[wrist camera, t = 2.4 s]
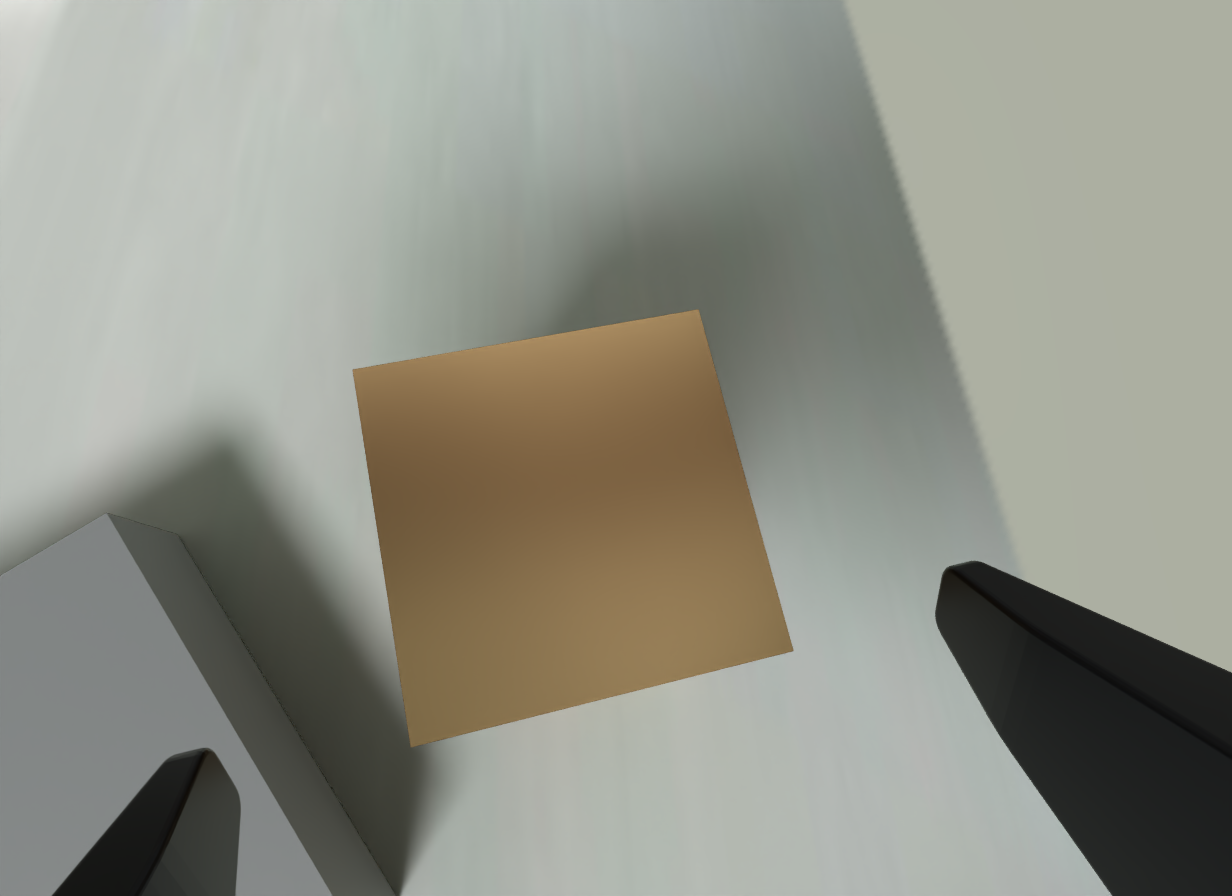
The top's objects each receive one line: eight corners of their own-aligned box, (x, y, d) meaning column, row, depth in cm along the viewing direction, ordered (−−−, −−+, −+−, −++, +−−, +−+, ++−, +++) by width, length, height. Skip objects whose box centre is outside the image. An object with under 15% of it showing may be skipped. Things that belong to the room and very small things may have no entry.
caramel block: (675, 648, 18) (794, 651, 10) (475, 697, 18) (410, 748, 9) (629, 458, 19) (698, 309, 11) (440, 496, 19) (352, 369, 10)
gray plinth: (398, 899, 16) (367, 954, 13) (-58, 1259, 14) (-212, 1418, 11) (176, 534, 18) (106, 512, 15) (-266, 804, 16) (-450, 841, 13)
